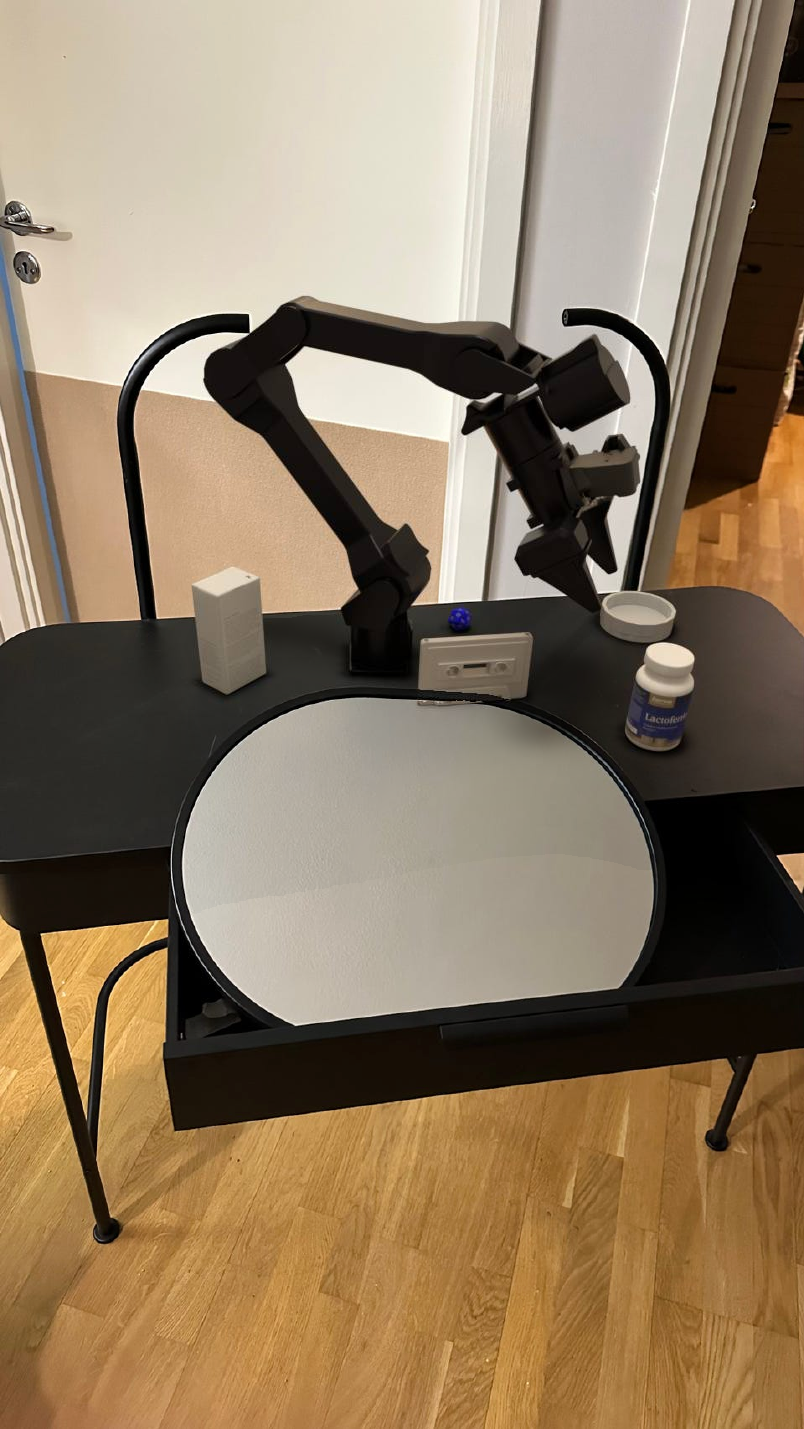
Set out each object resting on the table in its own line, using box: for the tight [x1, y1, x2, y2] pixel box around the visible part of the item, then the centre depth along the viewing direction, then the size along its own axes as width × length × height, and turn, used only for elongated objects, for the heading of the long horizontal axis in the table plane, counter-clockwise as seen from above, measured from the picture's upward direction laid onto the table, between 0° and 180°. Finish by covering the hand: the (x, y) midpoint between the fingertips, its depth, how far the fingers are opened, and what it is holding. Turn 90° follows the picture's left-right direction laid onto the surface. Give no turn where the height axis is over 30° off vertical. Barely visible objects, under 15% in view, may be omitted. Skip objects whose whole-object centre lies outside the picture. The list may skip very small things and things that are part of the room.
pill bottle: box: [624, 642, 695, 752], centre depth 98 cm, size 6×6×10 cm
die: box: [447, 606, 473, 632], centre depth 119 cm, size 3×3×3 cm
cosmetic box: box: [191, 566, 267, 695], centre depth 105 cm, size 6×4×12 cm
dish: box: [599, 590, 677, 644], centre depth 121 cm, size 9×9×2 cm
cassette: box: [417, 631, 534, 706], centre depth 104 cm, size 12×2×8 cm, turn 100°
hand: (605, 591), depth 98 cm, fingers open, 9 cm apart
